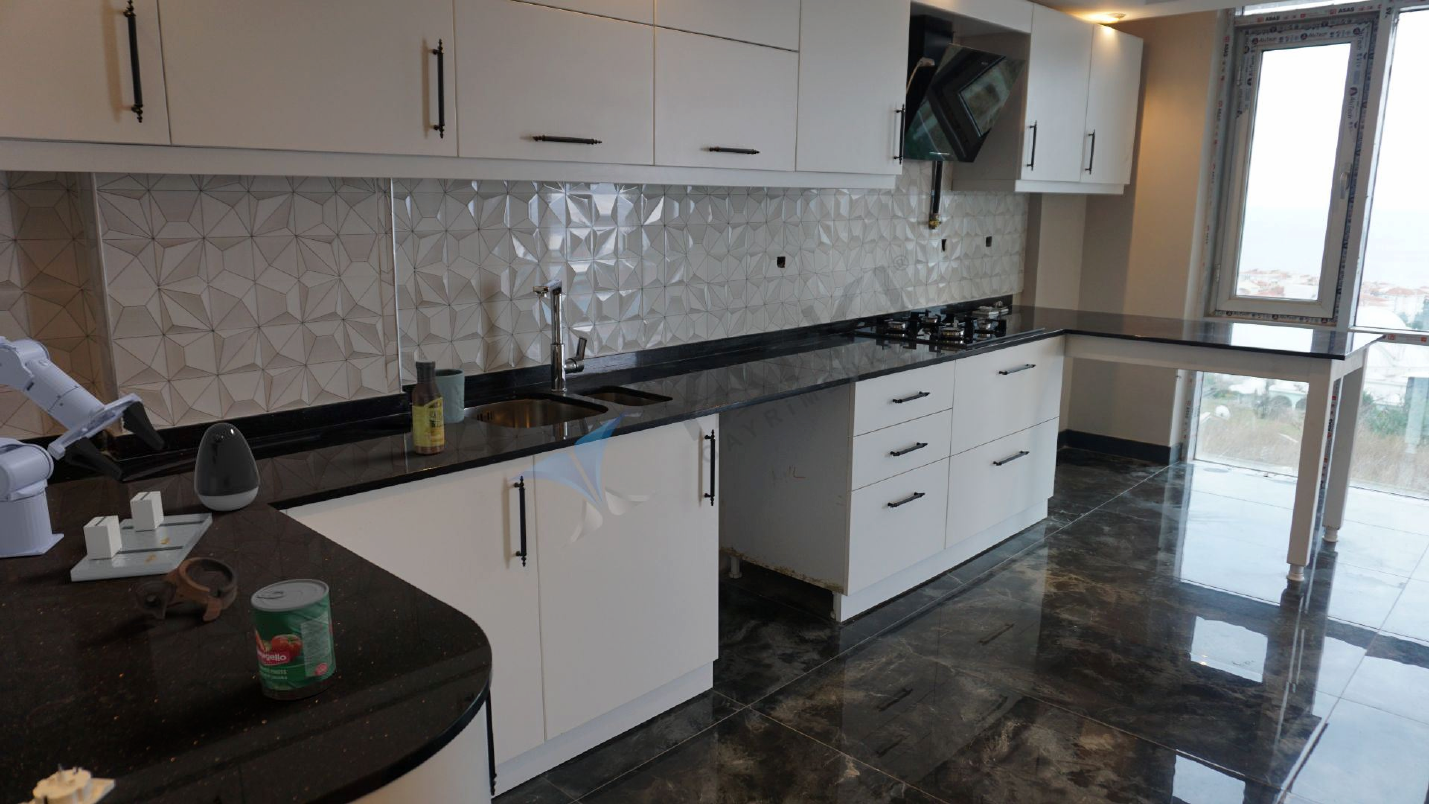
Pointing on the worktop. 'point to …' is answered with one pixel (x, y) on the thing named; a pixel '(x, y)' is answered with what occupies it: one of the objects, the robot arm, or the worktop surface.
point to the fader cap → (103, 537)
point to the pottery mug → (187, 589)
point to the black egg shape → (225, 469)
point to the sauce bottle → (427, 410)
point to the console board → (147, 549)
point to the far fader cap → (147, 511)
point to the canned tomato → (293, 633)
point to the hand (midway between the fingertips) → (141, 460)
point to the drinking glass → (451, 393)
